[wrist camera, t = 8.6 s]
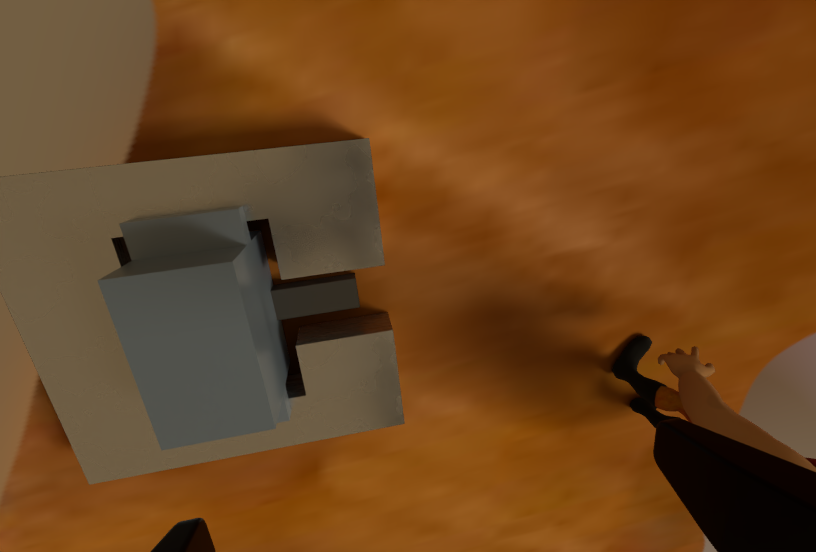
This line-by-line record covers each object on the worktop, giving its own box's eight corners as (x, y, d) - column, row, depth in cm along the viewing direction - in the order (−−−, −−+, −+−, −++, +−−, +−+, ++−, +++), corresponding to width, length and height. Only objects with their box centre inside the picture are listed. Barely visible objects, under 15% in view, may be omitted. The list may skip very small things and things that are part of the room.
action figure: (689, 413, 25) (1141, 760, 11) (640, 444, 25) (1023, 827, 11) (638, 297, 22) (1188, 580, 8) (581, 334, 22) (1020, 678, 8)
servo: (341, 187, 18) (342, 204, 13) (369, 371, 21) (379, 438, 16) (153, 210, 17) (81, 237, 12) (212, 399, 20) (172, 479, 15)
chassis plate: (365, 138, 17) (369, 138, 15) (398, 398, 21) (404, 423, 19) (-3, 177, 15) (-50, 182, 13) (113, 451, 20) (89, 484, 18)
